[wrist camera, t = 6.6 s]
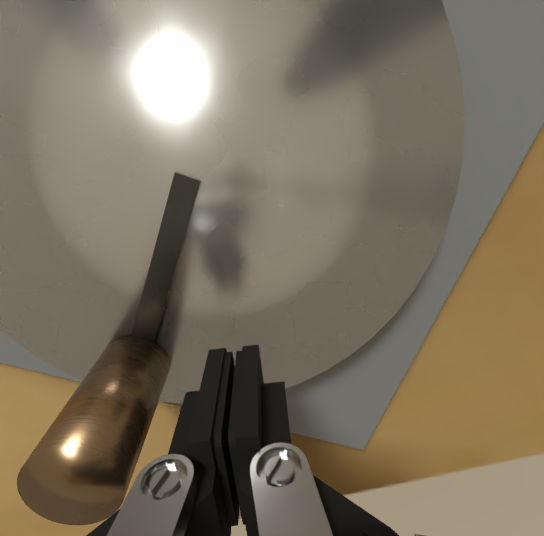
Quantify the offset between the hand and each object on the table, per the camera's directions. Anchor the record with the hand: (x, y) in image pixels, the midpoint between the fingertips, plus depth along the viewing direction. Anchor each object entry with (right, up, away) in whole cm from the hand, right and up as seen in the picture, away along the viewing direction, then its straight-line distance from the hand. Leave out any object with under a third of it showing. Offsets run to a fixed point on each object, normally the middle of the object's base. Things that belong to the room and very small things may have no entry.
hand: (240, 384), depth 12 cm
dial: (-2, +7, 0) cm, 7 cm away
